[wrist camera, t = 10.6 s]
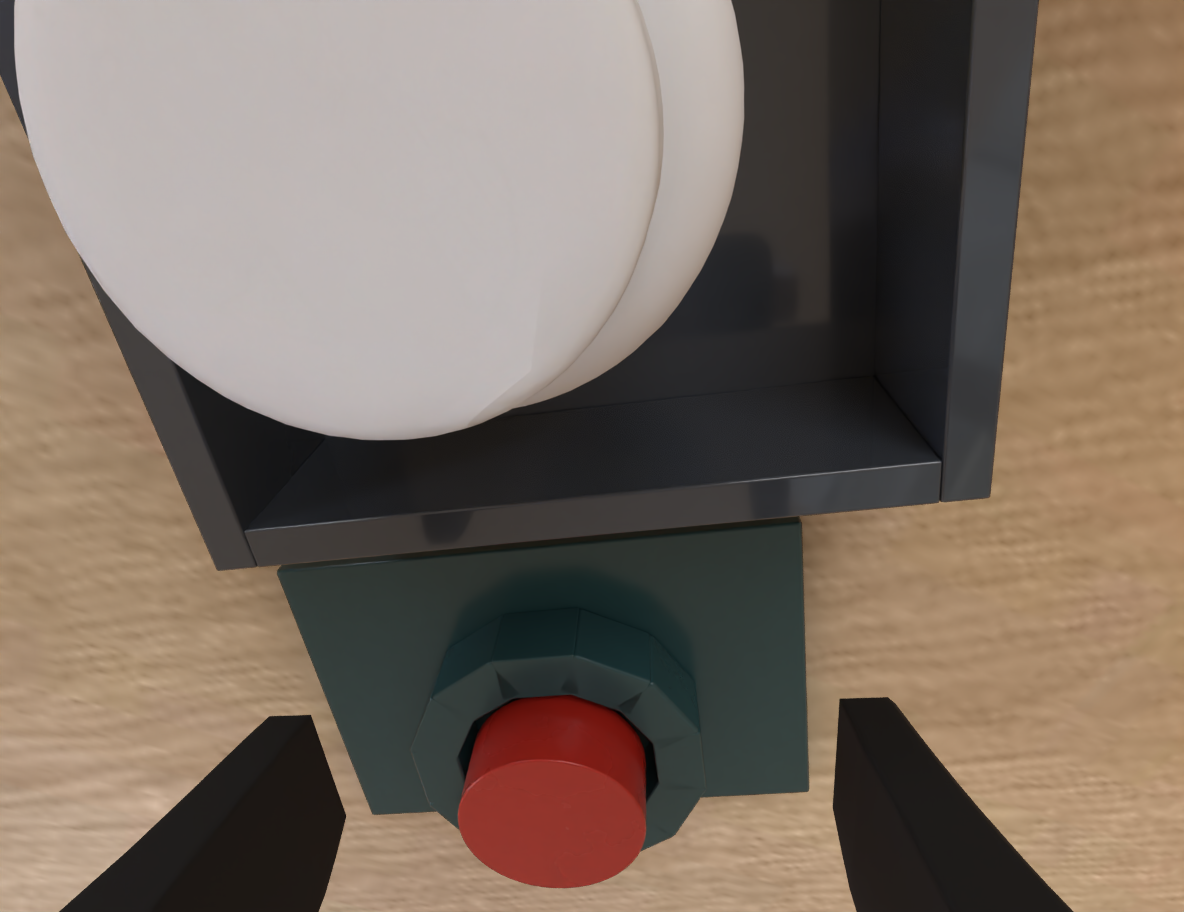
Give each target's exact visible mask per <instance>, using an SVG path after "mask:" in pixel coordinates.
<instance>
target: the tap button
mask: <svg viewBox="0 0 1184 912" xmlns="http://www.w3.org/2000/svg"><path fill="white" fill-rule="evenodd" d="M458 825H459V829H460V833H461V835H462V838H463V840H464V842H465V843H466V845H467V847H468V848H469V849H470V851H471V852H472V853H473V854H474V855H475V856H476V857H477V858H478V859H479V860H480V861H481V862H482V863H484V864H485V865H486V866H488V867H489V868H491V869H492V870H494V871H496V872H497V873H499V874H501V875H503V876H506V877H508V878H510V879H513V880H516V881H518V882H522V883H525V884H529V885H534V886H540V887H548V888H574V887H581V886H587V885H591V884H595V883H599V882H601V881H604V880H606V879H609V878H611V877H613V876H615V875H617V874H618V873H620V872H621V871H623V870H624V869H625V868H627V867H628V866H629V865H630V864H631V863H632V862H633V861H634V859H635V858H636V857H637V856H638V854H639V852H640V850H641V849H642V847H643V844H644V841H645V836H646V761H645V752H644V748H643V745H642V743H641V740H640V738H639V736H638V735H637V733H636V732H635V730H634V729H633V728H632V726H631V725H630V724H629V723H628V722H627V721H626V720H625V719H624V718H623V717H621V716H620V715H619V714H617V713H616V712H615V711H613V710H612V709H610V708H608V707H605V706H602V705H599V704H596V703H593V702H590V701H587V700H584V699H581V698H578V697H575V696H573V695H558V696H544V697H530V698H521V699H518V700H515V701H512V702H510V703H508V704H506V705H504V706H503V707H501V708H500V709H498V710H497V711H495V712H494V713H493V714H492V715H491V716H490V717H489V718H488V719H487V720H486V721H485V722H484V724H483V725H482V726H481V728H480V730H479V732H478V734H477V737H476V740H475V743H474V747H473V751H472V755H471V759H470V763H469V767H468V771H467V776H466V780H465V784H464V788H463V792H462V796H461V800H460V804H459V809H458Z"/></svg>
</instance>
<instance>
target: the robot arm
mask: <svg viewBox="0 0 1184 912" xmlns="http://www.w3.org/2000/svg"><path fill="white" fill-rule="evenodd" d="M833 811H834V816H835V821H836V826H837V831H838V836H839V840H840V845H841V850H842V855H843V860H844V864H845V869H846V873H847V878H848V883H849V887H850V891H851V894H852V898H853V901H854V904H855V907H856V911H857V912H1073V911H1072V910H1071V909H1070V908H1069V907H1068V906H1067V905H1066V903H1065V902H1064V901H1063V900H1062V899H1061V898H1060V897H1059V896H1058V895H1057V894H1056V893H1055V892H1054V891H1053V890H1052V889H1051V888H1050V887H1049V886H1048V885H1047V884H1046V883H1045V881H1044V880H1043V879H1042V878H1041V877H1040V876H1039V875H1038V874H1037V873H1036V872H1035V871H1034V870H1033V868H1032V867H1031V866H1030V865H1029V864H1028V863H1027V862H1026V861H1025V860H1024V859H1023V858H1022V856H1021V855H1020V854H1019V853H1018V852H1017V851H1016V850H1015V848H1014V847H1013V846H1012V845H1011V844H1010V843H1009V842H1008V841H1007V839H1006V838H1005V837H1004V836H1003V835H1002V834H1001V833H1000V831H999V830H998V829H997V828H996V827H995V826H994V825H993V824H992V822H991V821H990V820H989V819H988V818H987V817H986V816H985V814H984V813H983V812H982V811H981V810H980V809H979V808H978V806H977V805H976V804H975V803H974V802H973V801H972V799H971V798H970V797H969V796H968V795H967V793H966V792H965V791H964V790H963V789H962V787H961V786H960V785H959V784H958V783H957V781H956V780H955V779H954V778H953V776H952V775H951V774H950V773H949V772H948V770H947V769H946V768H945V767H944V765H943V764H942V763H941V762H940V761H939V759H938V758H937V757H936V756H935V754H934V753H933V752H932V751H931V749H930V748H929V747H928V746H927V744H926V743H925V742H924V740H923V739H922V738H921V737H920V735H919V734H918V733H917V731H916V730H915V729H914V727H913V726H912V725H911V724H910V722H909V721H908V720H907V718H906V717H905V716H904V714H903V713H902V712H901V710H900V709H899V708H898V706H897V705H896V704H895V703H894V702H893V701H892V700H890V699H889V698H888V697H883V698H850V699H840V703H839V718H838V734H837V750H836V765H835V781H834V797H833ZM345 819H346V814H345V811H344V808H343V805H342V802H341V800H340V797H339V794H338V791H337V788H336V785H335V782H334V780H333V777H332V774H331V771H330V768H329V765H328V762H327V760H326V757H325V754H324V751H323V748H322V745H321V742H320V740H319V737H318V734H317V731H316V728H315V725H314V722H313V720H312V717H311V715H298V716H269V717H268V718H267V719H266V720H265V721H264V722H263V723H262V724H261V725H259V726H258V727H257V728H256V729H255V730H254V731H253V732H252V733H251V734H250V735H249V736H248V737H247V738H245V739H244V740H243V741H242V742H241V743H240V744H239V745H238V746H237V747H236V748H235V749H234V750H233V751H232V752H231V753H230V754H229V755H228V756H227V757H226V758H225V759H224V760H223V761H222V762H220V763H219V764H218V765H217V766H216V767H215V768H214V769H213V770H212V771H211V772H210V773H209V774H208V775H207V776H206V777H205V778H204V779H203V780H202V781H201V782H200V783H199V784H198V785H197V786H196V787H195V788H194V789H193V790H191V791H190V792H189V793H188V794H187V795H186V796H185V797H184V798H183V799H182V800H181V801H180V802H179V803H178V804H177V805H176V806H175V807H174V808H173V809H172V810H170V811H169V812H168V813H167V814H166V815H165V816H164V817H163V818H162V819H161V820H160V821H159V822H158V823H157V824H156V825H155V826H154V827H152V828H151V829H150V830H149V831H148V832H147V833H146V834H145V835H144V836H143V837H142V838H141V839H140V840H139V841H138V842H137V843H136V844H135V845H133V846H132V847H131V848H130V849H129V850H128V851H127V852H126V853H125V854H124V855H123V856H121V857H120V858H119V859H118V860H117V861H116V862H115V863H114V864H112V865H111V866H110V867H109V868H108V869H107V870H106V871H104V872H103V873H102V874H101V875H100V876H99V877H98V878H97V879H95V880H94V881H93V882H92V883H91V884H90V885H89V886H88V887H86V888H85V889H84V890H83V891H82V892H81V893H80V894H79V895H77V896H76V897H75V898H74V899H73V900H72V901H71V902H70V903H68V904H67V905H66V906H65V907H64V908H63V909H62V910H61V911H59V912H319V909H320V906H321V904H322V901H323V899H324V896H325V893H326V890H327V886H328V883H329V879H330V876H331V872H332V869H333V865H334V862H335V858H336V854H337V850H338V846H339V843H340V839H341V835H342V831H343V827H344V823H345Z"/></svg>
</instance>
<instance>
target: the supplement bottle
mask: <svg viewBox="0 0 1184 912" xmlns="http://www.w3.org/2000/svg"><path fill="white" fill-rule="evenodd" d="M14 49H15V65H16V74H17V82H18V90H19V98H20V103H21V107H22V112H23V116H24V121H25V125H26V130H27V134H28V138H29V142H30V146H31V150H32V154H33V157H34V160H35V162H36V165H37V167H38V170H39V173H40V175H41V178H42V180H43V183H44V185H45V188H46V191H47V193H48V195H49V197H50V200H51V202H52V204H53V206H54V208H55V210H56V212H57V215H58V217H59V219H60V221H61V223H62V225H63V227H64V230H65V232H66V233H67V235H68V237H69V238H70V240H71V242H72V243H73V245H74V246H75V248H76V250H77V251H78V253H79V254H80V256H81V257H82V259H83V260H84V262H85V263H86V265H87V266H88V268H89V269H90V271H91V272H92V274H93V275H94V277H95V278H96V280H97V281H98V283H99V284H100V286H101V287H102V288H103V290H104V291H105V293H106V294H107V295H108V296H109V297H110V298H111V300H112V301H113V302H114V303H115V304H116V306H117V307H118V308H119V309H120V310H121V311H122V313H123V314H124V315H125V316H126V317H127V318H128V320H129V321H130V322H131V323H132V324H133V326H134V327H135V328H136V329H137V330H138V331H139V332H140V333H142V334H143V335H144V336H145V337H146V338H147V339H148V340H149V341H150V342H152V343H153V344H154V345H155V346H156V347H157V348H158V349H159V350H160V351H161V352H163V353H164V354H165V355H166V356H167V357H168V358H169V359H171V360H172V361H173V362H175V363H176V364H177V365H179V366H180V367H181V368H183V369H184V370H185V371H187V372H188V373H189V374H191V375H192V376H193V377H195V378H196V379H198V380H199V381H201V382H202V383H204V384H205V385H207V386H209V387H210V388H212V389H213V390H215V391H216V392H218V393H219V394H221V395H223V396H224V397H226V398H228V399H230V400H232V401H234V402H236V403H238V404H240V405H242V406H244V407H246V408H248V409H250V410H252V411H255V412H257V413H260V414H262V415H265V416H267V417H270V418H272V419H274V420H277V421H279V422H282V423H284V424H287V425H290V426H294V427H297V428H301V429H305V430H309V431H313V432H317V433H321V434H325V435H329V436H337V437H346V438H353V439H360V440H407V439H416V438H424V437H432V436H438V435H442V434H446V433H450V432H454V431H458V430H462V429H466V428H469V427H472V426H475V425H478V424H480V423H483V422H485V421H487V420H489V419H492V418H494V417H496V416H498V415H500V414H503V413H505V412H507V411H509V410H511V409H512V408H517V407H522V406H527V405H531V404H534V403H538V402H541V401H544V400H547V399H550V398H553V397H556V396H558V395H561V394H563V393H566V392H569V391H571V390H573V389H575V388H577V387H579V386H581V385H583V384H585V383H587V382H589V381H591V380H592V379H594V378H596V377H598V376H600V375H601V374H603V373H604V372H606V371H608V370H609V369H611V368H612V367H614V366H615V365H617V364H618V363H620V362H621V361H622V360H623V359H625V358H626V357H627V356H629V355H630V354H631V353H633V352H634V351H635V350H636V349H637V348H638V347H639V346H640V345H641V344H642V343H644V342H645V341H646V340H647V339H648V338H649V337H650V336H651V335H652V334H653V333H654V332H655V331H656V330H657V329H659V328H660V327H661V326H662V325H663V324H664V322H665V321H666V320H667V319H668V317H669V316H670V315H671V314H672V312H673V311H674V310H675V309H676V307H677V306H678V305H679V303H680V302H681V300H682V299H683V297H684V296H685V294H686V293H687V291H688V290H689V288H690V287H691V285H692V284H693V282H694V280H695V279H696V277H697V276H698V274H699V273H700V271H701V269H702V267H703V265H704V263H705V261H706V260H707V258H708V256H709V254H710V252H711V250H712V248H713V246H714V243H715V241H716V238H717V236H718V233H719V231H720V228H721V226H722V223H723V221H724V218H725V215H726V212H727V209H728V206H729V203H730V200H731V197H732V193H733V189H734V184H735V180H736V175H737V170H738V165H739V158H740V152H741V145H742V136H743V125H744V73H743V60H742V53H741V46H740V40H739V34H738V29H737V23H736V17H735V12H734V9H733V5H732V1H731V0H15V5H14Z"/></svg>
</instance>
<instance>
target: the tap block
mask: <svg viewBox="0 0 1184 912" xmlns="http://www.w3.org/2000/svg"><path fill="white" fill-rule="evenodd" d="M277 575H278V577H279V580H280V582H281V585H282V588H283V590H284V593H285V595H286V598H287V600H288V603H289V605H290V608H291V610H292V613H293V615H294V618H295V620H296V623H297V625H298V628H299V630H300V633H301V635H302V638H303V640H304V643H305V646H306V648H307V651H308V653H309V656H310V658H311V661H312V663H313V666H314V668H315V671H316V673H317V676H318V678H319V681H320V683H321V686H322V688H323V691H324V693H325V696H326V698H327V701H328V704H329V706H330V709H331V711H332V714H333V716H334V719H335V721H336V724H337V726H338V729H339V731H340V734H341V736H342V739H343V741H344V744H345V746H346V749H347V751H348V754H349V757H350V759H351V762H352V764H353V767H354V769H355V772H356V774H357V777H358V779H359V782H360V784H361V787H362V789H363V792H364V794H365V797H366V799H367V802H368V804H369V807H370V809H371V812H372V814H373V815H382V814H401V813H420V812H438V813H439V814H441V815H442V816H443V817H444V818H445V819H447V820H448V821H449V822H450V823H451V824H453V825H454V826H455V827H456V828H457V829H459V825H458V809H459V804H460V800H461V796H462V792H463V788H464V784H465V780H466V776H467V771H468V767H469V763H470V759H471V755H472V751H473V747H474V743H475V740H476V737H477V734H478V732H479V730H480V728H481V726H482V725H483V724H484V722H485V721H486V720H487V719H488V718H489V717H490V716H491V715H492V714H493V713H494V712H495V711H497V710H498V709H500V708H501V707H503V706H504V705H506V704H508V703H510V702H512V701H515V700H518V699H521V698H530V697H544V696H558V695H573V696H575V697H578V698H581V699H584V700H587V701H590V702H593V703H596V704H599V705H602V706H605V707H608V708H610V709H612V710H613V711H615V712H616V713H617V714H619V715H620V716H621V717H623V718H624V719H625V720H626V721H627V722H628V723H629V724H630V725H631V726H632V728H633V729H634V730H635V732H636V733H637V735H638V736H639V738H640V740H641V743H642V745H643V748H644V752H645V761H646V836H645V841H644V844H643V847H642V849H641V850H640V851H643V850H645V849H647V848H649V847H651V846H653V845H656V844H658V843H660V842H662V841H664V840H666V839H669V838H671V837H673V836H674V835H675V834H676V833H677V831H678V830H679V828H680V827H681V826H682V824H683V823H684V821H685V820H686V818H687V817H688V815H689V814H690V812H691V811H692V810H693V808H694V807H695V805H696V804H697V802H698V801H699V799H700V798H702V797H721V796H740V795H759V794H777V793H796V792H808V791H809V761H808V725H807V689H806V653H805V616H804V580H803V544H802V522H801V520H800V517H799V516H796V517H785V518H775V519H764V520H753V521H743V522H732V523H722V524H711V525H700V526H690V527H679V528H668V529H658V530H647V531H637V532H626V533H615V534H605V535H594V536H584V537H573V538H562V539H552V540H541V541H531V542H520V543H509V544H499V545H488V546H477V547H467V548H456V549H446V550H435V551H424V552H414V553H403V554H393V555H382V556H371V557H361V558H350V559H340V560H329V561H318V562H308V563H297V564H286V565H281V566H280V568H279V569H278V570H277ZM459 830H460V829H459Z"/></svg>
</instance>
